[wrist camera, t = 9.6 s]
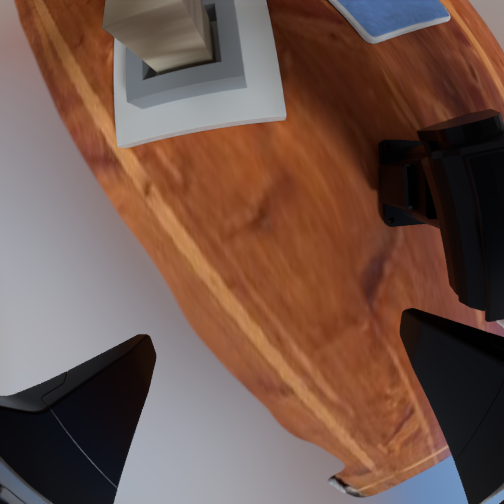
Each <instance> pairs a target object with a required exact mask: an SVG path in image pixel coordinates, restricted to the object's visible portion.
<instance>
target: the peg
mask: <svg viewBox="0 0 504 504" xmlns="http://www.w3.org/2000/svg"><path fill="white" fill-rule="evenodd" d="M102 28H103V29H104V30H106V31H107V32H108V33H110V34H111V35H112V36H113V37H115V38H116V39H117V40H119V41H120V42H121V43H122V44H124V45H125V46H126V47H127V48H129V49H130V50H131V51H132V52H134V53H135V54H136V55H137V56H138V57H140V58H141V59H142V60H143V61H144V62H146V63H147V64H148V65H149V66H150V67H152V68H153V69H154V70H155V71H156V72H157V73H159V74H160V75H163V74H167V73H170V72H174V71H178V70H183V69H187V68H191V67H196V66H201V65H206V64H211V63H217V61H216V51H215V41H214V31H213V28H212V25H211V23H210V20H209V17H208V15H207V12H206V10H205V7H204V5H203V2H202V0H106V2H105V9H104V17H103V25H102Z"/></svg>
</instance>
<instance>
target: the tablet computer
mask: <svg viewBox="0 0 504 504" xmlns="http://www.w3.org/2000/svg"><path fill="white" fill-rule="evenodd" d="M328 1H329V2H330V3H331V4H332V5H333V6H334V7H335V8H336V9H337V10H338V11H339V12H340V13H341V14H342V15H343V16H344V17H345V18H346V19H347V20H348V21H349V23H350V24H351V25H352V26H353V27H354V29H355V30H356V31H357V32H358V33H359V35H360V36H361V37H362V38H363V39H364V40H365V41H367V42H369V43H372V44H375V43H379V42H382V41H385V40H387V39H390V38H393V37H396V36H399V35H402V34H405V33H408V32H412V31H415V30H418V29H422V28H425V27H429V26H432V25H436V24H440V23H444V22H447V21H449V20H450V14H449V12H448V11H447V9H446V8H445V7H444V6H443V5H442V3H441V2H440V1H439V0H328Z"/></svg>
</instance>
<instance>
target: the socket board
mask: <svg viewBox="0 0 504 504" xmlns="http://www.w3.org/2000/svg"><path fill="white" fill-rule="evenodd" d="M202 2H203V5H204V7H205V10H206V12H207V15H208V17H209V20H210V23H211V25H212V28H213V31H214V41H215V51H216V61H217V63H211V64H206V65H201V66H196V67H191V68H187V69H183V70H178V71H174V72H170V73H167V74H163V75H160V74H159V73H157V72H156V71H155V70H154V69H153V68H152V67H150V66H149V65H148V64H147V63H146V62H144V61H143V60H142V59H141V58H140V57H138V56H137V55H136V54H135V53H134V52H132V51H131V50H130V49H129V48H127V47H126V46H125V45H124V44H122V43H121V42H120V41H119V40H117V39H116V38H115V41H114V106H115V124H116V137H117V147H122V148H129V147H133V146H136V145H140V144H144V143H148V142H152V141H156V140H161V139H165V138H169V137H174V136H179V135H184V134H189V133H194V132H199V131H205V130H211V129H217V128H223V127H230V126H237V125H244V124H252V123H261V122H271V121H282V120H285V119H286V109H285V102H284V96H283V89H282V83H281V76H280V70H279V64H278V59H277V53H276V47H275V42H274V37H273V31H272V26H271V21H270V16H269V11H268V7H267V2H266V0H202Z"/></svg>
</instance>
